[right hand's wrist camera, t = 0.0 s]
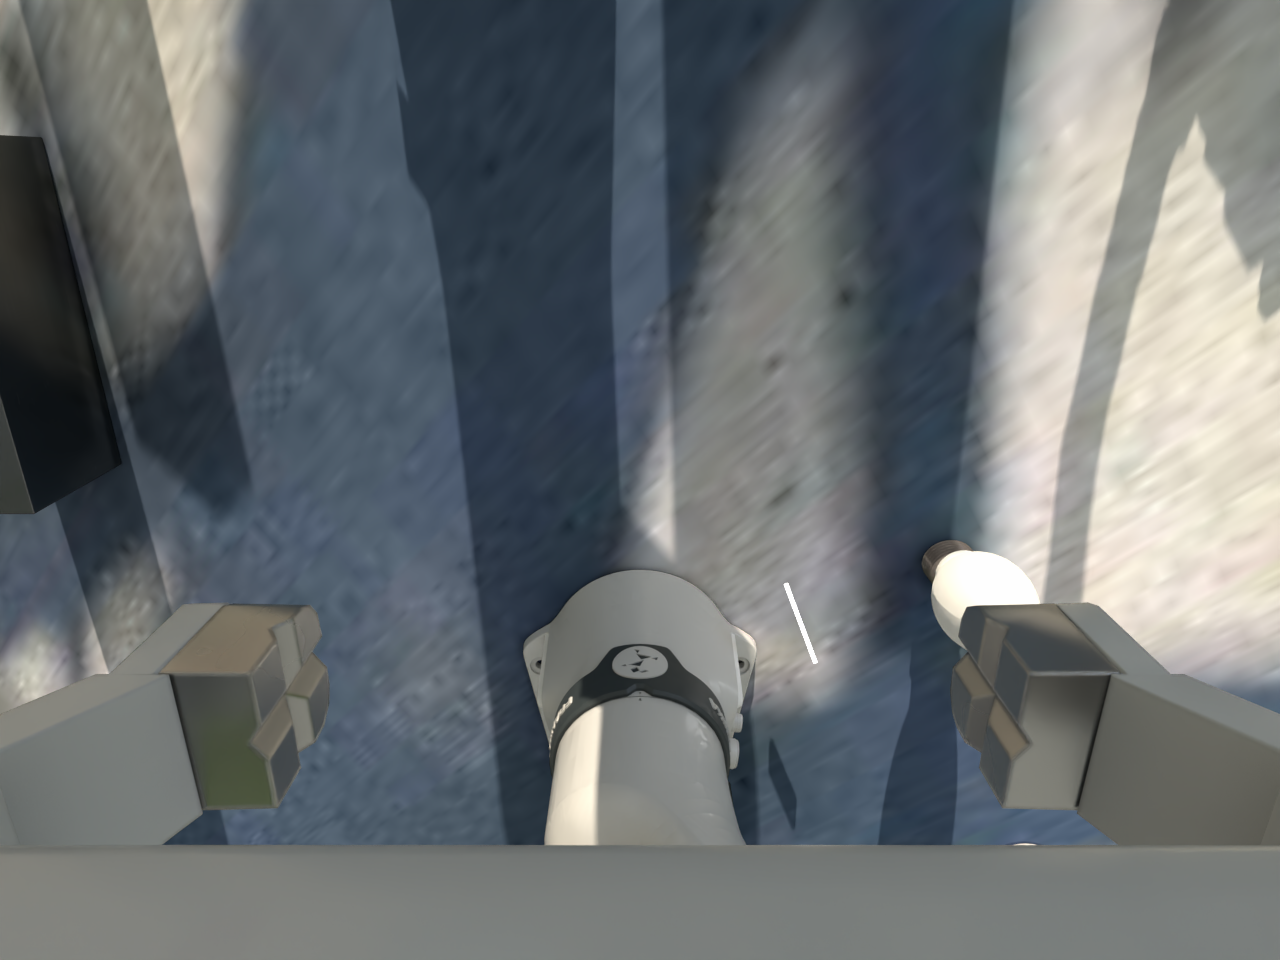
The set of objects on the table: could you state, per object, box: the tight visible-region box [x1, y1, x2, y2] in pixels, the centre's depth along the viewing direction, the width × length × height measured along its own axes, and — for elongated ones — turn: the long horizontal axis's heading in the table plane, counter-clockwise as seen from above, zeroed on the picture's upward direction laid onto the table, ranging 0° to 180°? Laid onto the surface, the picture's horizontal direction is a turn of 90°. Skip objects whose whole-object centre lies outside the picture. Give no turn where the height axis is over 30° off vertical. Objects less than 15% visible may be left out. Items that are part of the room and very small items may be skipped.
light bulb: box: [922, 540, 1040, 650], centre depth 58 cm, size 7×7×11 cm
